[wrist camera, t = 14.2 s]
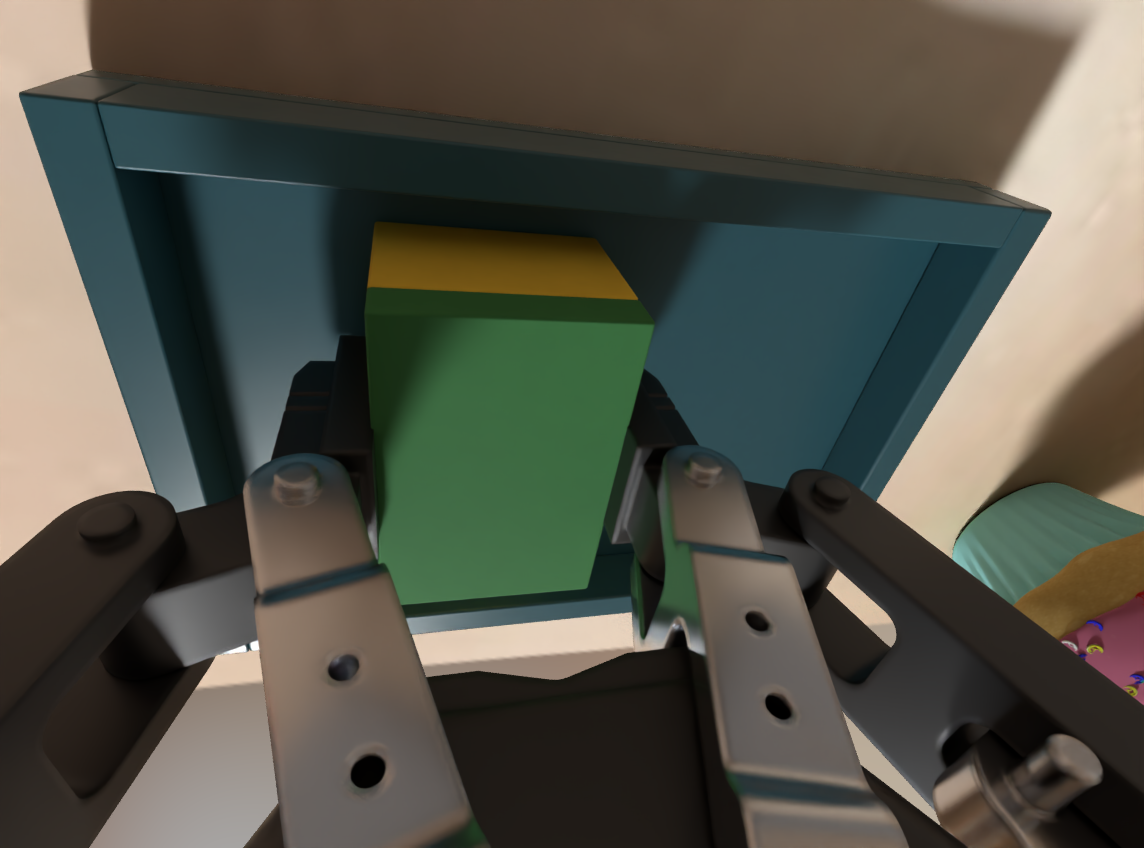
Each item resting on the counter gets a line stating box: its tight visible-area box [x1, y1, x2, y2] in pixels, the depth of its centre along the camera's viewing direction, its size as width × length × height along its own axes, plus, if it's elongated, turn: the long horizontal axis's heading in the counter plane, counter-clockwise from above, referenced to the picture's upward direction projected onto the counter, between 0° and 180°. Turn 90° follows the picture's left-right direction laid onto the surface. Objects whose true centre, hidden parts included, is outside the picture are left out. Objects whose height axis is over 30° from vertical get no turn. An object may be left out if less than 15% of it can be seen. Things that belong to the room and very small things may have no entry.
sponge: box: [364, 222, 655, 605], centre depth 11 cm, size 6×4×4 cm, turn 171°
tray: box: [19, 70, 1052, 655], centre depth 13 cm, size 17×12×2 cm
